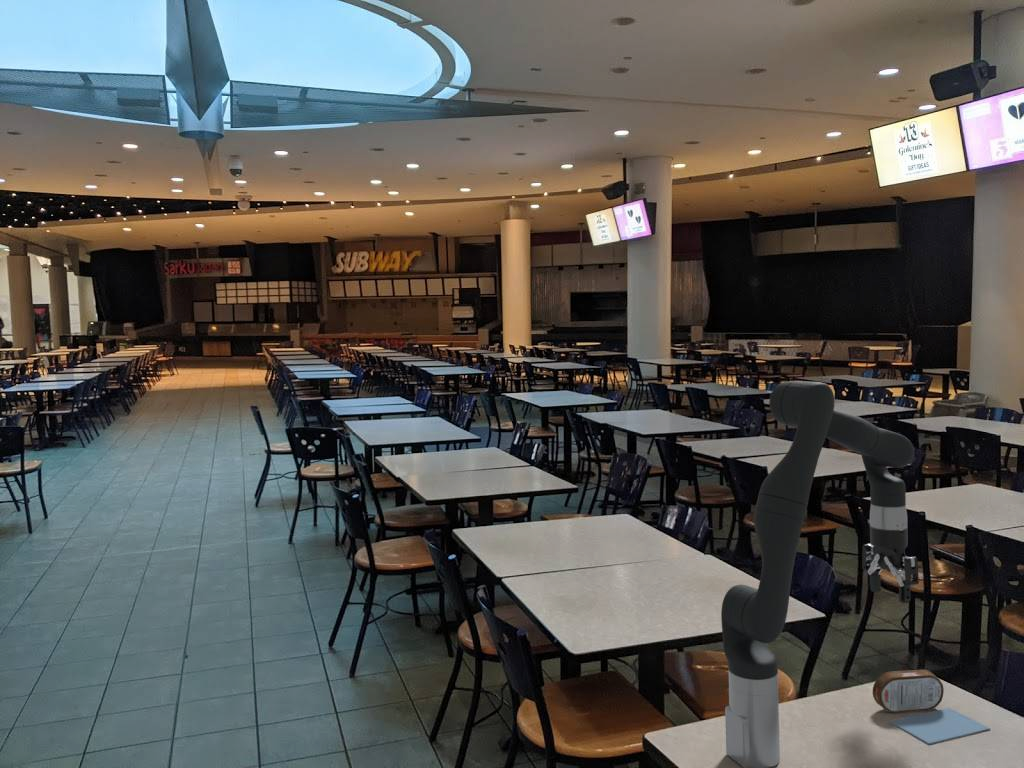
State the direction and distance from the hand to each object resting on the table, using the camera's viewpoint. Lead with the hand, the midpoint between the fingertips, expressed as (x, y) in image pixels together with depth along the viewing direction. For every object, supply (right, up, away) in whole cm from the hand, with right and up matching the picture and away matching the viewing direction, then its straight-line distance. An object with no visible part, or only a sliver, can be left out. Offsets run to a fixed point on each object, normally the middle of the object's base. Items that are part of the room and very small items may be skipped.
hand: (889, 596), depth 176 cm
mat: (+5, -24, -12) cm, 27 cm away
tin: (+2, -24, -4) cm, 24 cm away
